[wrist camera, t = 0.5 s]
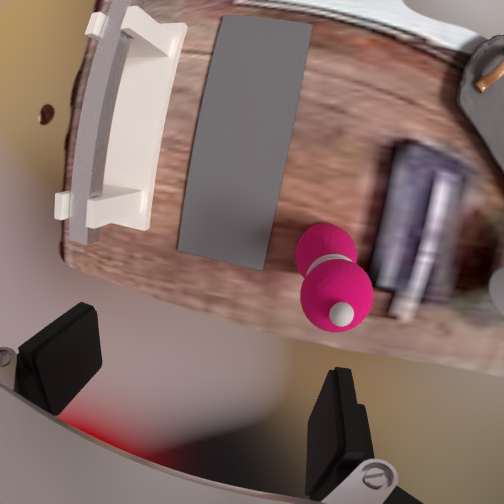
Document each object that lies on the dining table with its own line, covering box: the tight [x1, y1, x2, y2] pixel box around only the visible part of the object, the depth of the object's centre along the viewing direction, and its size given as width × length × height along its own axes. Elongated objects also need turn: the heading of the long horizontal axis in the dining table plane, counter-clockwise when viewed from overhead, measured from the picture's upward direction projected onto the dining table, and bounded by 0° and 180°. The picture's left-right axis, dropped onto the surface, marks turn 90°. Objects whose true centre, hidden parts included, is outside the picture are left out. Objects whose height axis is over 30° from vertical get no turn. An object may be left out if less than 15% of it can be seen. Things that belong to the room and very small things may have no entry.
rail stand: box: [54, 6, 188, 231], centre depth 32 cm, size 30×8×12 cm, turn 169°
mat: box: [178, 15, 313, 271], centre depth 36 cm, size 34×12×1 cm, turn 169°
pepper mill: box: [295, 223, 373, 332], centre depth 30 cm, size 7×7×20 cm
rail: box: [69, 0, 144, 245], centre depth 28 cm, size 30×3×2 cm, turn 169°
